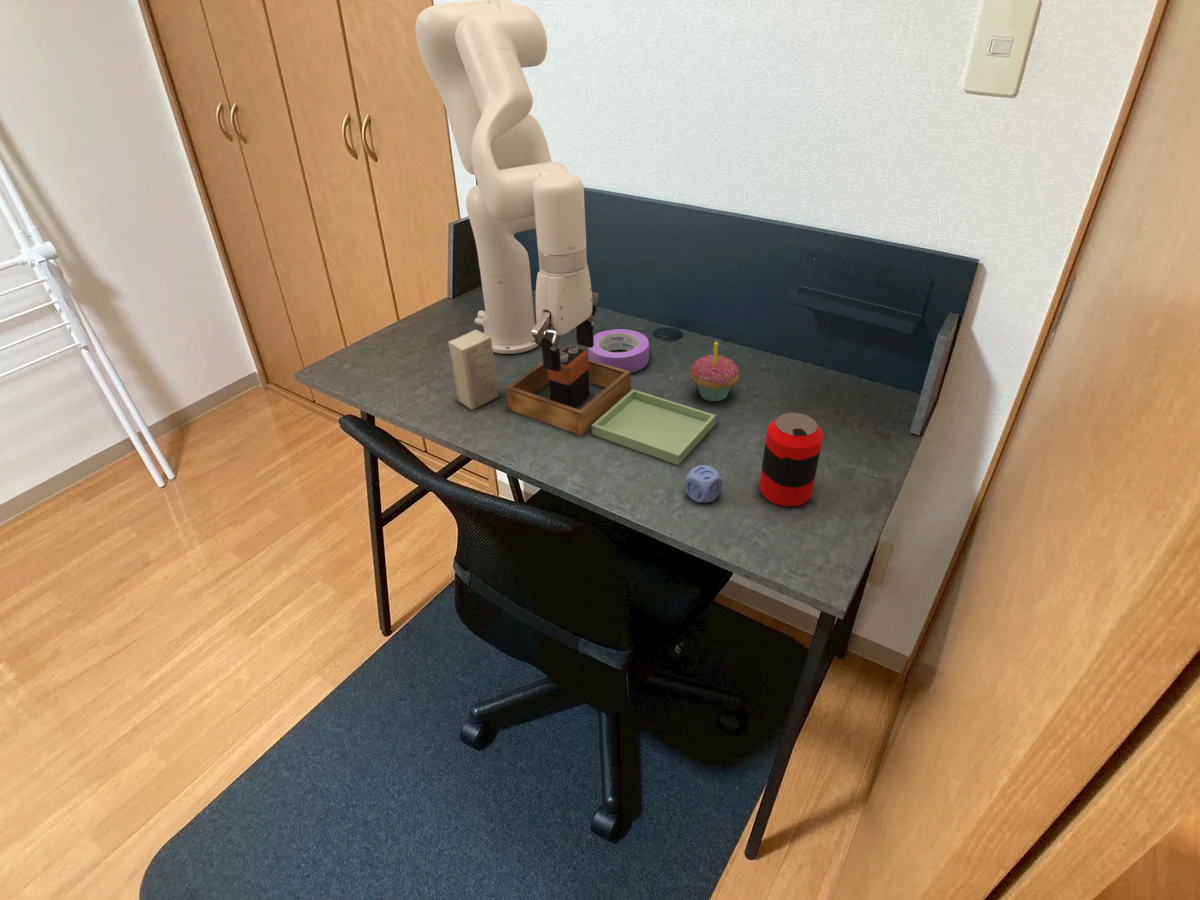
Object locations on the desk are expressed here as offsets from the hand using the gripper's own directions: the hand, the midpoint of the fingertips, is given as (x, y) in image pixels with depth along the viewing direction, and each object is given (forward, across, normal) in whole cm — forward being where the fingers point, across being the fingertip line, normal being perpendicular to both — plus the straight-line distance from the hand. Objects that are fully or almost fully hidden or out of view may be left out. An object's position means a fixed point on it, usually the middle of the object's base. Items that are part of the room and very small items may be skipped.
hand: (569, 357), depth 122 cm
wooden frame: (+9, 0, -1) cm, 9 cm away
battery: (+9, 0, -1) cm, 9 cm away
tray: (+10, 0, +16) cm, 19 cm away
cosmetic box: (+9, +8, -15) cm, 19 cm away
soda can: (+10, +4, +41) cm, 42 cm away
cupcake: (+10, -15, +20) cm, 27 cm away
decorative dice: (+10, +11, +31) cm, 34 cm away
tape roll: (+9, -17, -1) cm, 20 cm away
